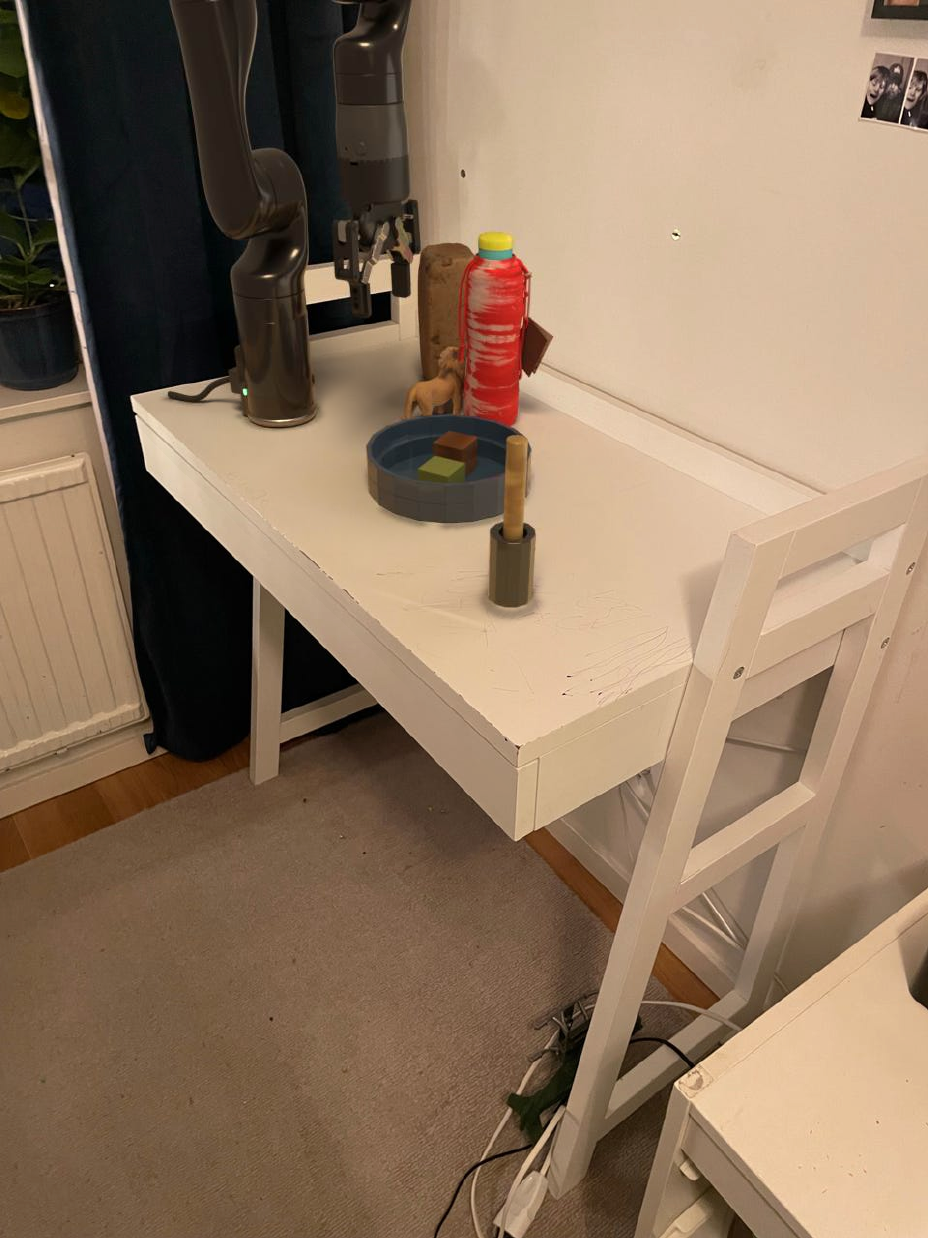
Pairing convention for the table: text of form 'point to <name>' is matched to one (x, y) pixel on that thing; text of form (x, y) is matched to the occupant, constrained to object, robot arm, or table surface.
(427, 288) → the block
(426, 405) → the lion figurine
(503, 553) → the holder
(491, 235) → the water bottle
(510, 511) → the stirring stick
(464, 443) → the walnut block
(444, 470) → the olive block
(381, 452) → the bowl
